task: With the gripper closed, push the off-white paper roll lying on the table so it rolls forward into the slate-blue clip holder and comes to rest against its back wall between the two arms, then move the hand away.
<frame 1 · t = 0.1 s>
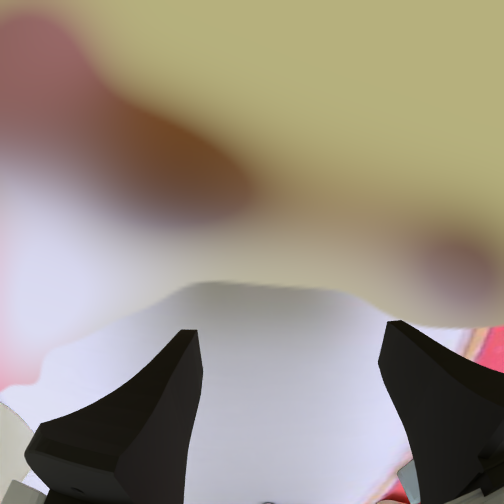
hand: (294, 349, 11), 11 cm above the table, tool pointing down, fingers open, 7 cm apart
holder: (460, 460, 26), on the table
cylinder container: (13, 430, 26), on the table
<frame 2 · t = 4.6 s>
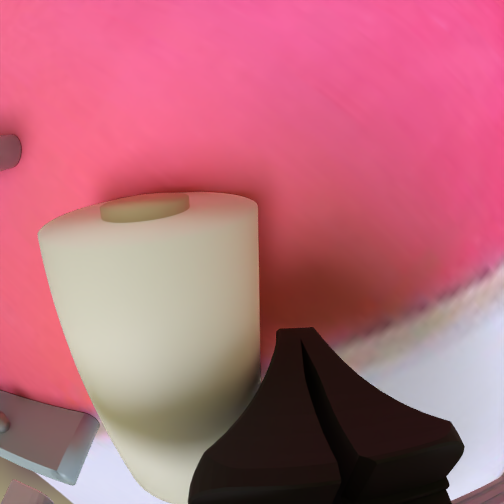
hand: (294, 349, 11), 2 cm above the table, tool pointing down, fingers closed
roll: (170, 364, 10), point 3 cm above the table, tilted 28°
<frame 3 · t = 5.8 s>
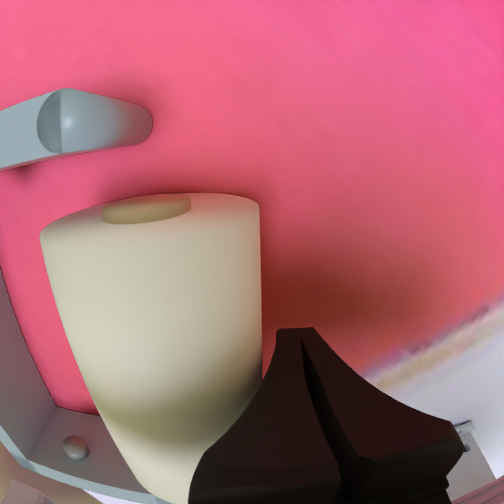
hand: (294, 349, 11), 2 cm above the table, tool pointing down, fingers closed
roll: (172, 365, 10), point 3 cm above the table, tilted 92°
holder: (73, 316, 13), on the table
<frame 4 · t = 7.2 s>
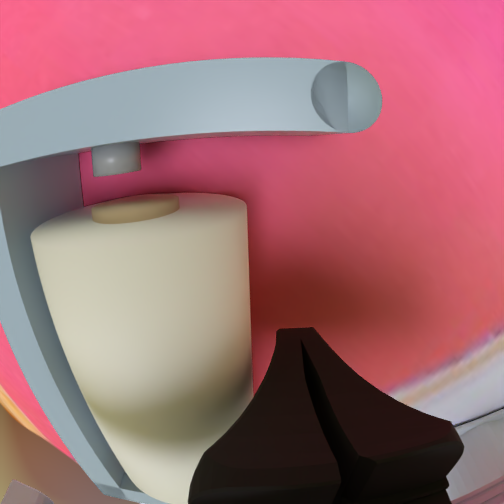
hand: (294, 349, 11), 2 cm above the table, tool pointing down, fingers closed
roll: (162, 364, 10), point 3 cm above the table, tilted 143°
holder: (198, 320, 13), on the table
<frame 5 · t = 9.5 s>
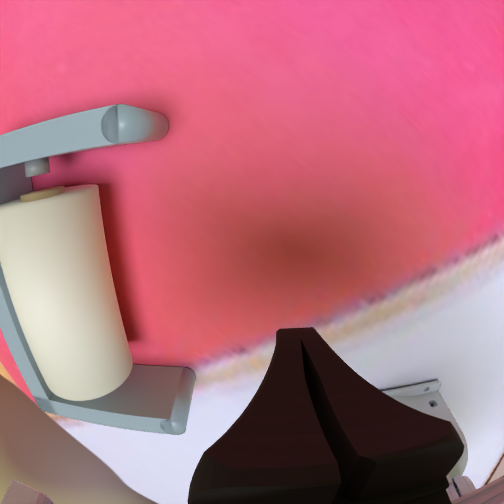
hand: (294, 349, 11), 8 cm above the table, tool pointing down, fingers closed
roll: (62, 292, 15), point 3 cm above the table, tilted 137°
holder: (101, 270, 18), on the table
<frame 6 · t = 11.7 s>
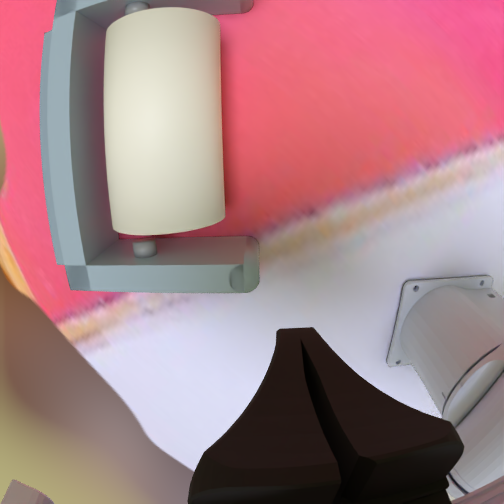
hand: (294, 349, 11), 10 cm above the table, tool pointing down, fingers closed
roll: (162, 120, 15), point 3 cm above the table, tilted 165°
holder: (172, 124, 18), on the table
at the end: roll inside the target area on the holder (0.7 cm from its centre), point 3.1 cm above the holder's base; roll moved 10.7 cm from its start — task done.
